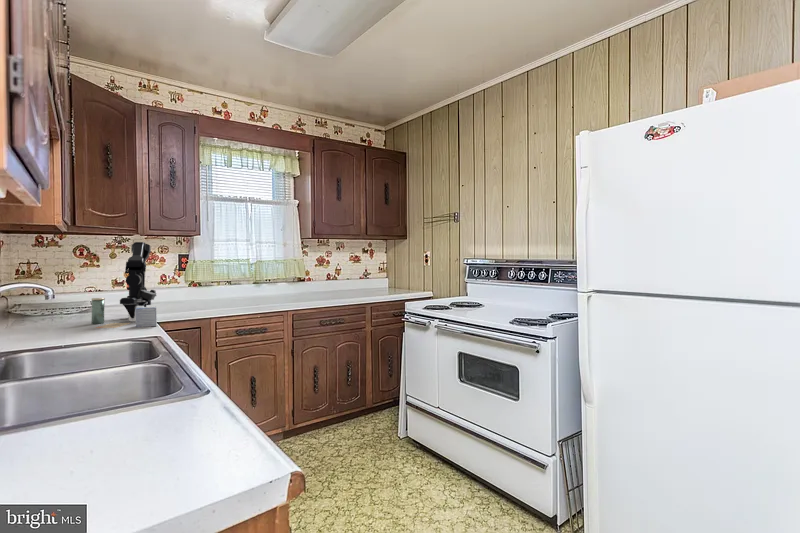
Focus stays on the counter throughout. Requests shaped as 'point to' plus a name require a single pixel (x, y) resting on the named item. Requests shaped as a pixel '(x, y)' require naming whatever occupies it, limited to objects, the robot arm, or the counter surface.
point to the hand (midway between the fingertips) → (135, 317)
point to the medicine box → (146, 316)
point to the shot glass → (134, 316)
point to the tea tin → (98, 310)
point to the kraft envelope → (113, 325)
